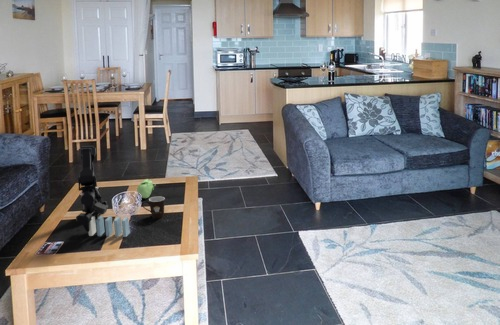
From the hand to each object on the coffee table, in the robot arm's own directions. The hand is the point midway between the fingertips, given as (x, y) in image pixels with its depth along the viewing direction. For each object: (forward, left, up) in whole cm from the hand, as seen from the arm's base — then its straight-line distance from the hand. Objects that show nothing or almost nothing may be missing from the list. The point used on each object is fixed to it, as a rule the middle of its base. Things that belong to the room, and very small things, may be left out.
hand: (91, 228), depth 226 cm
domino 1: (0, 0, -3) cm, 3 cm away
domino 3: (+9, 0, -3) cm, 9 cm away
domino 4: (+14, 0, -3) cm, 14 cm away
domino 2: (+5, 0, -3) cm, 5 cm away
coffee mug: (+25, +26, -3) cm, 36 cm away
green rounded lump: (+11, +56, -3) cm, 57 cm away
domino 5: (+18, 0, -3) cm, 18 cm away
